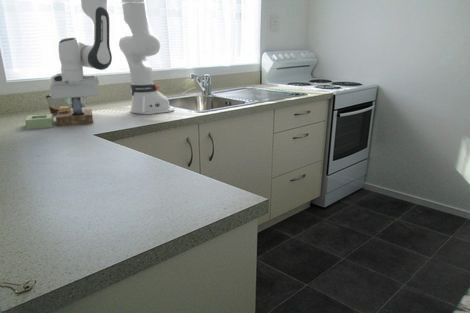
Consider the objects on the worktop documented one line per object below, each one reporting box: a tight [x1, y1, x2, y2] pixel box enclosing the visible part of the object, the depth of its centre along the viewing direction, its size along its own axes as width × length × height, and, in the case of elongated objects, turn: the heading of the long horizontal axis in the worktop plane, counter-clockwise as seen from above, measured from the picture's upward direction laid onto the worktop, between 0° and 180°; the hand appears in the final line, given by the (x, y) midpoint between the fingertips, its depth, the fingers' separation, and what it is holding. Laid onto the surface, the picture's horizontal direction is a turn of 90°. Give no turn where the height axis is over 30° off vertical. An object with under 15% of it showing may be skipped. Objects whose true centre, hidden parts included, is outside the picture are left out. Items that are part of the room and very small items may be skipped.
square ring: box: [24, 113, 54, 130], centre depth 165 cm, size 10×10×4 cm
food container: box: [45, 93, 70, 115], centre depth 192 cm, size 12×6×10 cm, turn 84°
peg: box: [70, 97, 83, 116], centre depth 170 cm, size 4×4×12 cm
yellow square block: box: [59, 106, 72, 113], centre depth 175 cm, size 5×5×5 cm
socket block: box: [55, 108, 94, 127], centre depth 173 cm, size 15×15×4 cm
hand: (77, 107), depth 169 cm, fingers closed on peg, 4 cm apart
